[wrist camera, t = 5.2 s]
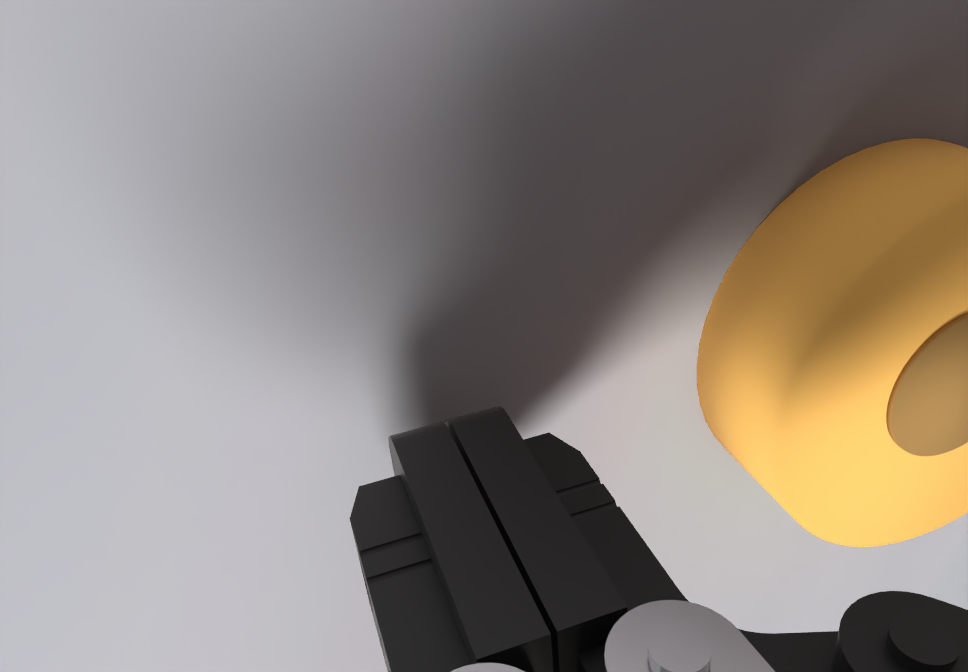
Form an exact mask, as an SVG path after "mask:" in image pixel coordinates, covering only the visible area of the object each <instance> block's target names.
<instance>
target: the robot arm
mask: <svg viewBox="0 0 968 672" xmlns="http://www.w3.org/2000/svg"><path fill="white" fill-rule="evenodd" d="M389 447H390V453H391V458H392V463H393V469H394V474H395V476H394V477H391V478H387V479H384V480H380V481H377V482H373V483H370V484H366V485H363V486H359V489H358V492H357V496H356V499H355V503H354V506H353V510H352V513H351V517H350V522H351V526H352V530H353V534H354V539H355V543H356V547H357V551H358V556H359V560H360V564H361V568H362V572H363V577H364V581H365V585H366V589H367V594H368V598H369V602H370V606H371V610H372V614H373V617H374V621H375V625H376V629H377V633H378V636H379V640H380V644H381V648H382V651H383V655H384V659H385V663H386V666H387V670H388V672H968V610H966V609H963V608H960V607H957V606H955V605H952V604H949V603H946V602H943V601H940V600H937V599H934V598H931V597H928V596H924V595H921V594H916V593H910V592H902V591H886V592H878V593H874V594H870V595H867V596H865V597H863V598H860V599H858V600H857V601H856V602H854V603H853V604H851V606H850V607H849V608H848V609H847V610H846V611H845V613H844V615H843V617H842V619H841V622H840V627H839V631H836V632H808V633H780V634H767V633H755V632H748V631H744V630H740V629H737V628H736V627H735V626H734V625H733V624H732V623H731V622H730V621H729V620H727V619H726V618H725V617H723V616H722V615H720V614H719V613H717V612H715V611H713V610H711V609H709V608H707V607H704V606H701V605H699V604H695V603H691V602H689V601H688V600H687V599H686V598H685V597H684V596H683V594H682V593H681V592H680V591H679V589H678V588H677V587H676V585H675V584H674V582H673V581H672V580H671V578H670V577H669V575H668V574H667V573H666V571H665V570H664V568H663V567H662V566H661V564H660V563H659V561H658V560H657V559H656V557H655V556H654V554H653V553H652V552H651V550H650V549H649V547H648V546H647V545H646V543H645V542H644V540H643V539H642V538H641V536H640V535H639V533H638V532H637V531H636V529H635V528H634V526H633V525H632V524H631V522H630V521H629V519H628V518H627V517H626V515H625V514H624V512H623V511H622V510H621V508H620V507H617V506H616V503H615V500H614V498H613V497H612V496H611V494H610V493H609V491H608V490H607V489H606V487H605V486H604V484H601V483H600V480H599V477H598V476H597V475H596V473H595V472H594V470H593V469H592V468H591V466H590V465H589V463H588V462H587V461H586V459H585V458H584V456H583V455H582V454H581V452H580V451H578V450H577V449H575V448H573V447H572V446H570V445H568V444H567V443H565V442H563V441H562V440H560V439H559V438H557V437H555V436H554V435H552V434H550V433H546V434H542V435H539V436H535V437H532V438H528V439H525V440H523V439H522V437H521V436H520V434H519V432H518V431H517V429H516V428H515V426H514V424H513V423H512V421H511V420H510V418H509V416H508V415H507V413H506V412H505V410H504V409H503V408H502V407H500V406H498V407H495V408H491V409H487V410H483V411H480V412H476V413H472V414H469V415H465V416H461V417H458V418H454V419H450V420H447V421H446V424H445V423H444V422H440V423H436V424H433V425H429V426H425V427H421V428H418V429H414V430H410V431H407V432H403V433H399V434H396V435H392V436H389Z"/></svg>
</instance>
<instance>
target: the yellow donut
mask: <svg viewBox="0 0 968 672" xmlns="http://www.w3.org/2000/svg"><path fill="white" fill-rule="evenodd" d="M697 389H698V395H699V401H700V406H701V409H702V411H703V414H704V417H705V420H706V422H707V424H708V426H709V428H710V429H711V431H712V433H713V435H714V436H715V437H716V439H717V440H718V441H719V442H720V443H721V444H722V446H723V447H724V448H725V449H726V450H727V451H728V452H729V453H730V454H731V455H732V456H733V457H734V458H735V459H736V460H737V461H738V462H739V463H740V464H741V465H742V466H743V467H744V468H745V469H746V470H747V471H748V472H749V473H750V474H751V475H752V476H753V477H754V478H755V479H756V480H757V481H758V482H759V483H760V484H761V486H762V487H763V488H764V489H765V490H766V491H767V492H768V493H769V494H770V495H771V496H772V497H773V498H774V499H775V500H776V501H777V502H778V503H779V504H780V505H781V506H782V507H783V508H784V509H785V510H786V511H787V512H788V513H789V514H790V515H791V516H792V517H793V518H794V519H795V520H796V521H797V522H798V523H799V524H800V525H801V526H802V527H804V528H805V529H806V530H807V531H809V532H810V533H811V534H813V535H815V536H817V537H819V538H821V539H823V540H825V541H827V542H831V543H835V544H839V545H843V546H854V547H870V546H882V545H887V544H892V543H898V542H901V541H904V540H908V539H911V538H914V537H918V536H920V535H923V534H925V533H928V532H930V531H933V530H935V529H937V528H940V527H942V526H943V525H945V524H947V523H949V522H951V521H953V520H955V519H957V518H959V517H961V516H962V515H964V514H966V513H967V512H968V148H966V147H963V146H960V145H957V144H954V143H950V142H946V141H941V140H936V139H923V138H910V139H903V140H896V141H889V142H886V143H882V144H879V145H875V146H872V147H868V148H866V149H863V150H861V151H859V152H856V153H854V154H852V155H849V156H847V157H845V158H843V159H841V160H839V161H838V162H836V163H834V164H832V165H831V166H829V167H827V168H825V169H824V170H822V171H820V172H819V173H818V174H816V175H815V176H813V177H812V178H811V179H809V180H808V181H807V182H805V183H804V184H802V185H801V186H800V187H798V188H797V189H796V190H795V191H794V192H793V193H792V194H790V195H789V196H788V197H787V198H786V199H785V200H784V201H783V202H781V203H780V204H779V205H778V206H777V207H776V208H775V209H774V210H773V211H772V212H771V213H770V215H769V216H768V217H767V218H766V219H765V220H764V221H763V222H762V223H761V224H760V225H759V226H758V227H757V229H756V230H755V231H754V233H753V234H752V235H751V237H750V238H749V239H748V241H747V242H746V243H745V244H744V246H743V247H742V248H741V250H740V251H739V253H738V254H737V256H736V258H735V259H734V261H733V262H732V264H731V266H730V267H729V269H728V271H727V272H726V274H725V276H724V278H723V280H722V282H721V284H720V286H719V288H718V290H717V292H716V294H715V296H714V298H713V301H712V304H711V307H710V309H709V312H708V315H707V317H706V320H705V324H704V328H703V332H702V336H701V340H700V344H699V352H698V360H697Z"/></svg>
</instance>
